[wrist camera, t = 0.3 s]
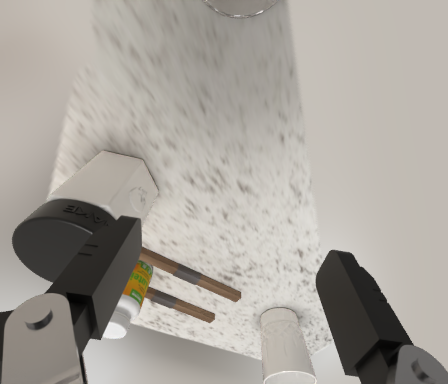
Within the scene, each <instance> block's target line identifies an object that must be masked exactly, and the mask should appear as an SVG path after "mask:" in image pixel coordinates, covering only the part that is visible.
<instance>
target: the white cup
mask: <svg viewBox="0 0 448 384" xmlns="http://www.w3.org/2000/svg"><path fill="white" fill-rule="evenodd" d="M260 324H261V352H262V367H263V383H264V384H316V383H317V379H316V376H315V373H314V369H313V366H312V362H311V359H310V356H309V352H308V349H307V346H306V342H305V339H304V336H303V333H302V330H301V328H300V325H299V322H298V318H297V316H296V313H295V312H293V311H292V310H290V309H286V308H273V309H270V310H267V311H266V312H265V313H263V314H262V315H261V319H260Z"/></svg>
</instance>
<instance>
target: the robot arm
mask: <svg viewBox="0 0 448 384" xmlns="http://www.w3.org/2000/svg"><path fill="white" fill-rule="evenodd" d="M203 1H204V2H205V3H206V4H207V5H208V6H209V7H211V8H212V9H213V10H215V11H216V12H218V13H220V14H222V15H224V16H228V17H233V18H248V17H251V16H255V15H258V14H260V13H262V12H264V11H265V10H267V9H269V8H270V7H271V6H272V5H273V4H275V3H276V2H277V1H278V0H203ZM141 248H142V231H141V219H140V218H136V217H130V216H124V215H121V216H120V217H119V218H118V219H117V221H116V222H115V223H114V225H113V226H112V227H110V226H103V227H102V228H100V229H99V230H97V231H96V232H94V233H93V234H92V235H91V236H90V237H89V239H88V240H87V241H86V242H85V244H84V246H82V248H81V249H80V250H79V251H78V254H77V255H75V256H74V258H73V259H72V260H71V261H70V263H69V264H68V265H67V266H66V268H65V269H64V270H63V272H62V273H61V274H60V275H59V277H58V278H57V279H56V280H55V282H54V283H53V284H52V285H51V287H50V288H49V289H48V290H47V291H46V292H45V293H44V294H42V295H38V296H35V297H33V298H31V299H29V300H27V301H25V302H24V303H22V304H21V305H20V306H18V307H17V308H16V309H15V310H11V311H6V312H0V384H88V380H87V374H86V369H85V363H84V357H83V351H84V349H85V347H86V345H87V343H88V341H89V339H97V340H101V338H102V336H103V334H104V332H105V330H106V327H107V325H108V323H109V321H110V319H111V317H112V315H113V313H114V310H115V308H116V306H117V304H118V302H119V300H120V298H121V296H122V294H123V291H124V289H125V287H126V285H127V283H128V281H129V279H130V277H131V275H132V272H133V270H134V268H135V266H136V264H137V262H138V260H139V257H140V253H141ZM316 288H317V291H318V294H319V297H320V300H321V303H322V306H323V309H324V312H325V315H326V318H327V321H328V324H329V327H330V330H331V333H332V336H333V339H334V342H335V345H336V348H337V351H338V354H339V357H340V360H341V363H342V366H343V369H344V372H345V375H349V376H357V377H359V379H360V381H361V384H448V372H447V371H446V370H445V368H444V367H443V366H442V365H441V364H440V363H439V362H438V361H437V360H436V359H435V358H434V357H433V356H432V355H430V354H429V353H428V352H426V351H425V350H423V349H421V348H419V347H416V346H414V345H413V343H412V341H411V340H410V338H409V336H408V335H407V333H406V331H405V330H404V328H403V326H402V325H401V323H400V321H399V320H398V318H397V316H396V315H395V313H394V311H393V310H392V308H391V306H390V305H389V303H387V300H386V298H385V296H384V295H383V293H381V290H380V288H379V286H378V285H377V283H376V281H375V280H374V278H373V277H372V276H371V275H370V274H369V273H368V272H367V271H366V270H365V269H364V268H363V267H360V266H359V264H358V263H357V261H356V259H355V257H354V255H353V254H352V253H350V252H343V251H337V250H331V251H329V253H328V255H327V256H326V258H325V260H324V262H323V264H322V265H321V267H320V269H319V271H318V273H317V275H316Z"/></svg>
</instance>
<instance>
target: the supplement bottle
mask: <svg viewBox="0 0 448 384" xmlns="http://www.w3.org/2000/svg"><path fill="white" fill-rule="evenodd" d="M152 273H153V269H152V266H151V265H150V264H148V263H146V262H144V261H141V260H138V262H137V264H136V266H135V268H134V270H133V272H132V275H131V277H130V279H129V281H128V283H127V285H126V287H125V289H124V291H123V294H122V296H121V298H120V300H119V302H118V304H117V306H116V308H115V310H114V313H113V315H112V317H111V319H110V321H109V323H108V325H107V327H106V330H105V332H104V334H103V337H105V338H111V339H119V338H122V337H124V336H125V335H126V333H127V331H128V328H129V325H130V321H132V320H134V319H135V318H136V317H137V316H138V314H139V312H140V309H141V306H142V303H143V300H144V297H145V294H146V291H147V289H148V286H149V283H150V280H151V277H152Z"/></svg>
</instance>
